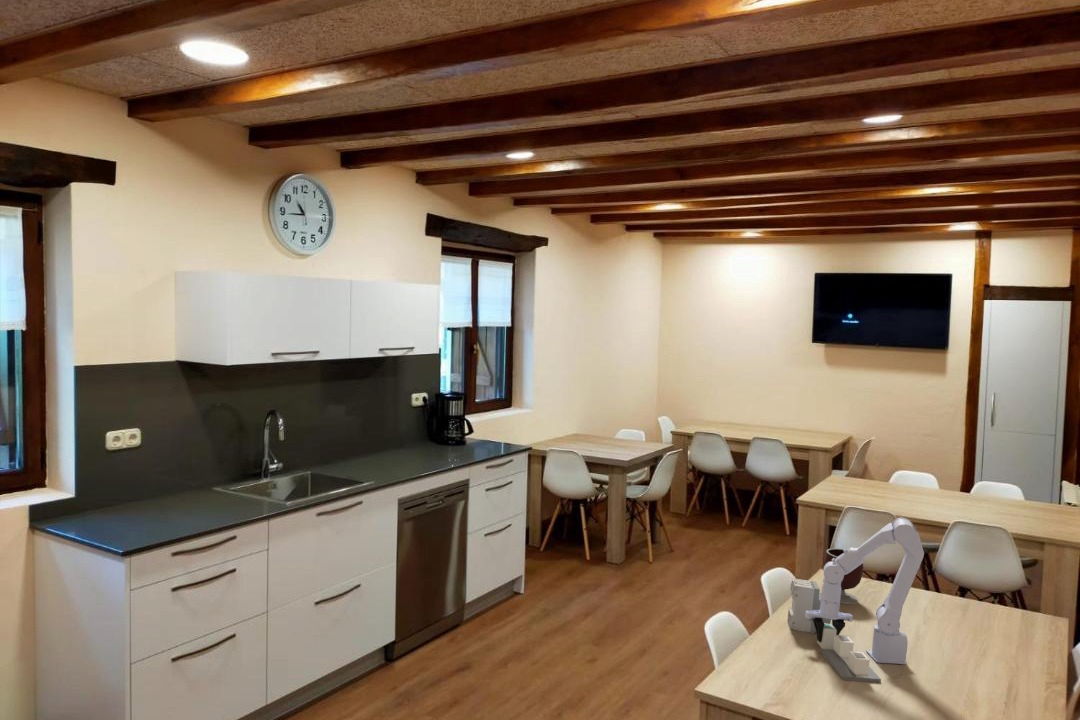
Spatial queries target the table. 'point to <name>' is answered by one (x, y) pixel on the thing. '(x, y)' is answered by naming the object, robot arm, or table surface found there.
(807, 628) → the circuit breaker
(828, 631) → the block
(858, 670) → the board
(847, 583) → the mate gourd
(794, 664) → the table surface
